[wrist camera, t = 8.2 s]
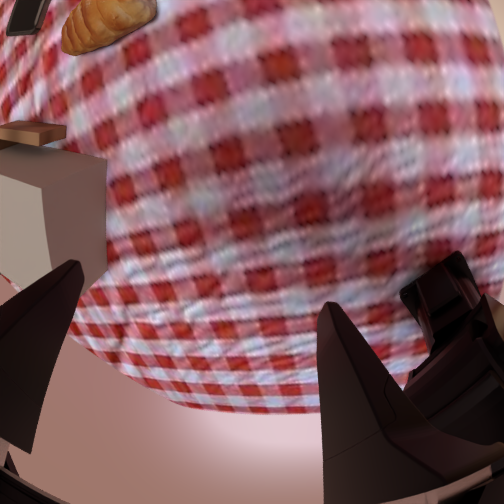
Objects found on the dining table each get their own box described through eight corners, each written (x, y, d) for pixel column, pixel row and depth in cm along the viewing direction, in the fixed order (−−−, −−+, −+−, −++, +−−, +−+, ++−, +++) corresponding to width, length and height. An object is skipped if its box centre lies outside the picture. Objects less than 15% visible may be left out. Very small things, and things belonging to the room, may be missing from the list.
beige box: (108, 158, 22) (41, 188, 15) (108, 269, 28) (62, 314, 22) (23, 141, 23) (-31, 163, 16) (31, 232, 29) (-12, 263, 22)
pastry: (81, 73, 18) (50, 75, 15) (68, 20, 16) (40, 18, 12) (166, 17, 15) (138, 6, 12) (148, -37, 13) (122, -50, 9)
